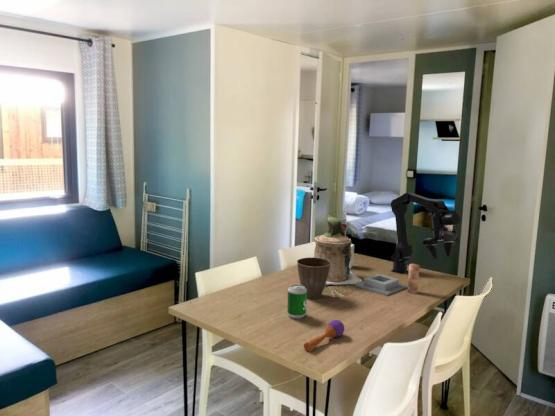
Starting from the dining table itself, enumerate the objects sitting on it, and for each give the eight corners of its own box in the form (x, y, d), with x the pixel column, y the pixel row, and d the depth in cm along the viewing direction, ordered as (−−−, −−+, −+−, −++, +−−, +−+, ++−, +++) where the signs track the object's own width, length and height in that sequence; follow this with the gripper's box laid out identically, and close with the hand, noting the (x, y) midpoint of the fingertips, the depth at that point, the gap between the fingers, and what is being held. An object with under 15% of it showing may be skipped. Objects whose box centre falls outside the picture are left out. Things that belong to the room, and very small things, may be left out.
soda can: (300, 321, 176) (301, 291, 175) (283, 316, 180) (284, 287, 179) (309, 314, 183) (310, 286, 181) (293, 310, 187) (293, 282, 185)
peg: (405, 291, 213) (407, 265, 211) (410, 289, 216) (412, 263, 214) (414, 294, 210) (416, 267, 208) (419, 292, 213) (421, 265, 211)
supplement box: (337, 267, 251) (338, 245, 249) (340, 264, 258) (341, 242, 256) (350, 269, 248) (351, 246, 246) (353, 265, 255) (354, 243, 253)
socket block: (354, 286, 220) (355, 278, 219) (375, 278, 232) (376, 271, 231) (386, 295, 207) (387, 287, 206) (407, 287, 219) (407, 279, 219)
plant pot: (335, 296, 205) (337, 262, 202) (315, 304, 194) (316, 268, 192) (310, 288, 215) (311, 255, 213) (289, 296, 204) (290, 261, 202)
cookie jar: (316, 287, 218) (318, 221, 213) (301, 272, 241) (303, 212, 236) (363, 284, 223) (367, 220, 219) (345, 269, 247) (347, 212, 242)
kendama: (299, 337, 153) (332, 316, 168) (302, 354, 153) (335, 332, 168) (313, 340, 149) (346, 318, 164) (316, 357, 149) (348, 333, 164)
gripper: (438, 226, 209) (442, 260, 209) (465, 223, 219) (468, 256, 218) (420, 227, 219) (423, 260, 218) (446, 224, 228) (449, 255, 228)
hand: (442, 257), depth 220 cm, fingers open, 9 cm apart
